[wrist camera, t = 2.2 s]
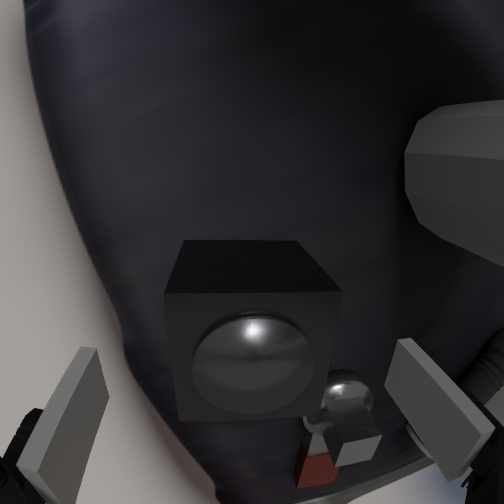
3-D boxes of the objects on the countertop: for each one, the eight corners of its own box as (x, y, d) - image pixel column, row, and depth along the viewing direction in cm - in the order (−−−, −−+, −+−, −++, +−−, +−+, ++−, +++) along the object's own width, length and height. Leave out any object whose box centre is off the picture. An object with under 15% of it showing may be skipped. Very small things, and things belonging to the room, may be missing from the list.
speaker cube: (184, 240, 19) (162, 297, 11) (296, 240, 20) (345, 294, 12) (188, 338, 21) (178, 426, 13) (287, 336, 22) (320, 419, 14)
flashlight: (499, 314, 25) (532, 337, 20) (508, 338, 27) (537, 360, 21) (399, 419, 27) (421, 454, 22) (418, 432, 29) (438, 463, 23)
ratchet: (302, 373, 23) (326, 432, 17) (371, 365, 24) (406, 416, 18) (284, 475, 28) (295, 523, 21) (337, 467, 28) (354, 511, 22)
